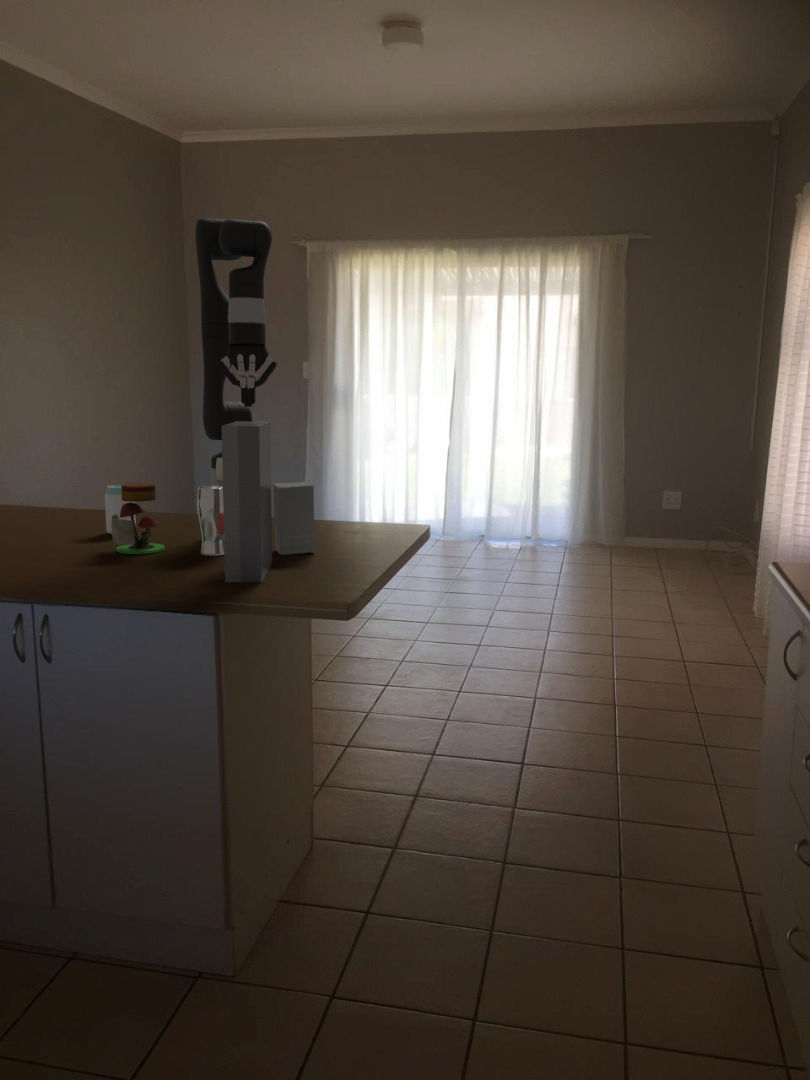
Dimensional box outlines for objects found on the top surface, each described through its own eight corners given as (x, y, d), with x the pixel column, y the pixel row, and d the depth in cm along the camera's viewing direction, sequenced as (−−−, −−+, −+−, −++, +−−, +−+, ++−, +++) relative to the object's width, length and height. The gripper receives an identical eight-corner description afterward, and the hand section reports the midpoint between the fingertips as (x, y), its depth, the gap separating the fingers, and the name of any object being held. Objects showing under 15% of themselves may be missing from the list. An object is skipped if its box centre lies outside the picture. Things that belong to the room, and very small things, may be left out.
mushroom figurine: (149, 543, 210) (146, 480, 208) (176, 550, 201) (174, 485, 199) (101, 549, 202) (98, 483, 199) (128, 557, 193) (125, 489, 191)
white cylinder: (216, 481, 174) (215, 458, 173) (220, 478, 178) (219, 456, 178) (241, 481, 174) (241, 459, 174) (244, 479, 179) (244, 457, 178)
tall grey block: (225, 582, 171) (221, 425, 166) (239, 563, 189) (236, 421, 183) (261, 582, 171) (259, 426, 166) (272, 563, 189) (270, 421, 184)
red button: (217, 536, 176) (216, 514, 175) (221, 532, 180) (220, 511, 180) (242, 536, 176) (242, 514, 176) (245, 532, 181) (245, 511, 180)
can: (100, 534, 220) (98, 486, 218) (119, 530, 227) (117, 483, 225) (123, 536, 218) (121, 488, 216) (141, 532, 224) (140, 485, 222)
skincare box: (309, 548, 206) (308, 480, 204) (316, 554, 200) (315, 484, 197) (273, 550, 204) (272, 481, 201) (278, 556, 197) (277, 485, 194)
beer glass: (203, 557, 194) (201, 489, 192) (195, 551, 200) (193, 485, 198) (234, 554, 198) (232, 488, 195) (225, 549, 204) (223, 484, 201)
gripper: (281, 323, 187) (281, 406, 190) (217, 322, 186) (219, 405, 189) (277, 321, 179) (278, 407, 182) (211, 319, 179) (213, 406, 182)
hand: (248, 406), depth 186 cm, fingers closed
